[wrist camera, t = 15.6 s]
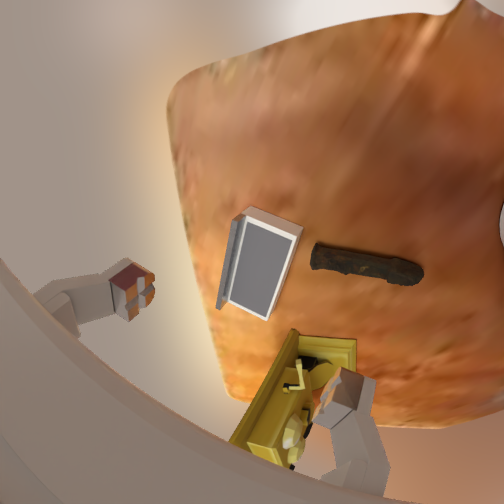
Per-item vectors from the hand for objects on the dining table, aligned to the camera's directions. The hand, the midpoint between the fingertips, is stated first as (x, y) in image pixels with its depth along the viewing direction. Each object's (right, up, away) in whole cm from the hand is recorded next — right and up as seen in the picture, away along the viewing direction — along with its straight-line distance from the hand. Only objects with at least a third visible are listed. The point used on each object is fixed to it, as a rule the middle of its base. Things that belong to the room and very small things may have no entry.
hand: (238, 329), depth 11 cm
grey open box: (+3, +1, +45) cm, 45 cm away
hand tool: (+16, +5, +40) cm, 43 cm away
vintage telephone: (+17, -22, +51) cm, 58 cm away
